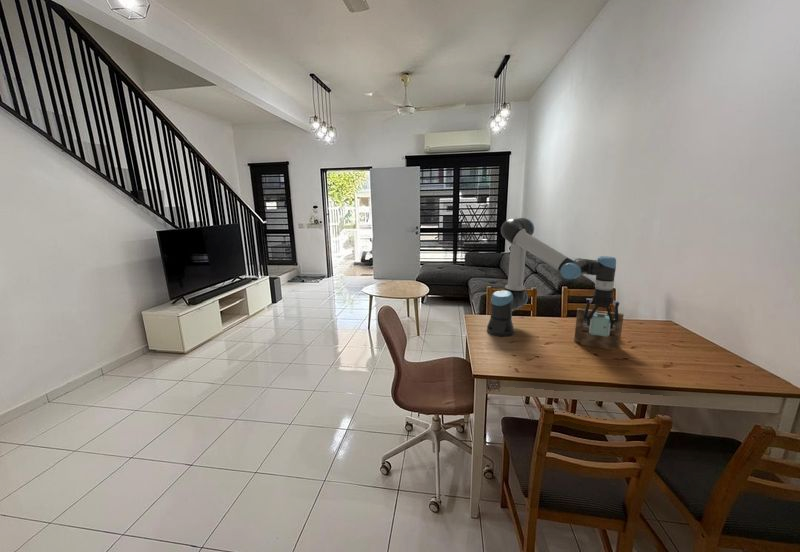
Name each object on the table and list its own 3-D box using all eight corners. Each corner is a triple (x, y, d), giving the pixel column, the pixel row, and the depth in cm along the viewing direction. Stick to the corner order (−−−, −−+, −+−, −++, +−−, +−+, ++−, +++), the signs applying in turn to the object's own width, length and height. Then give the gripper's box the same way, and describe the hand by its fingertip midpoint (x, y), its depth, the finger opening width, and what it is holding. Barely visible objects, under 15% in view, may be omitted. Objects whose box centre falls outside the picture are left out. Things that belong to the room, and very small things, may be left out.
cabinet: (590, 334, 157) (592, 315, 155) (590, 328, 164) (592, 310, 162) (607, 337, 153) (610, 317, 151) (606, 331, 161) (608, 311, 159)
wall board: (574, 343, 167) (577, 311, 163) (574, 337, 174) (577, 306, 170) (619, 350, 158) (624, 316, 154) (618, 344, 165) (622, 311, 161)
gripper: (580, 288, 155) (575, 332, 159) (630, 292, 145) (624, 339, 150) (580, 284, 161) (576, 327, 166) (627, 288, 151) (622, 333, 156)
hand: (598, 333), depth 158 cm, fingers closed on cabinet, 7 cm apart
